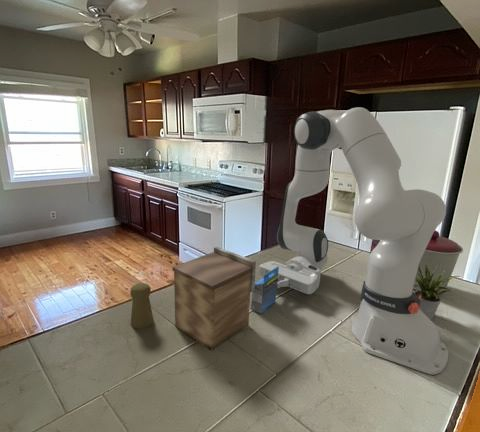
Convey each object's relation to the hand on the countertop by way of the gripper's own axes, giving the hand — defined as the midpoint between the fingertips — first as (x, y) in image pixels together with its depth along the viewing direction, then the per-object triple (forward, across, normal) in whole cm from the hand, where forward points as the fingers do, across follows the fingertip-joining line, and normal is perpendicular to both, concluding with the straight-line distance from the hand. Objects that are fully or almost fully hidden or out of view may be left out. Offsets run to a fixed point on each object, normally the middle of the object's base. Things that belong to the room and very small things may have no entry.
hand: (273, 284), depth 97 cm
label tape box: (+5, 0, +6) cm, 7 cm away
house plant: (-26, +36, +6) cm, 44 cm away
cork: (+35, -19, +6) cm, 40 cm away
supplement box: (-50, +16, +6) cm, 53 cm away
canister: (-46, +33, +6) cm, 56 cm away
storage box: (+23, -4, +6) cm, 24 cm away
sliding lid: (+22, -4, -4) cm, 23 cm away
